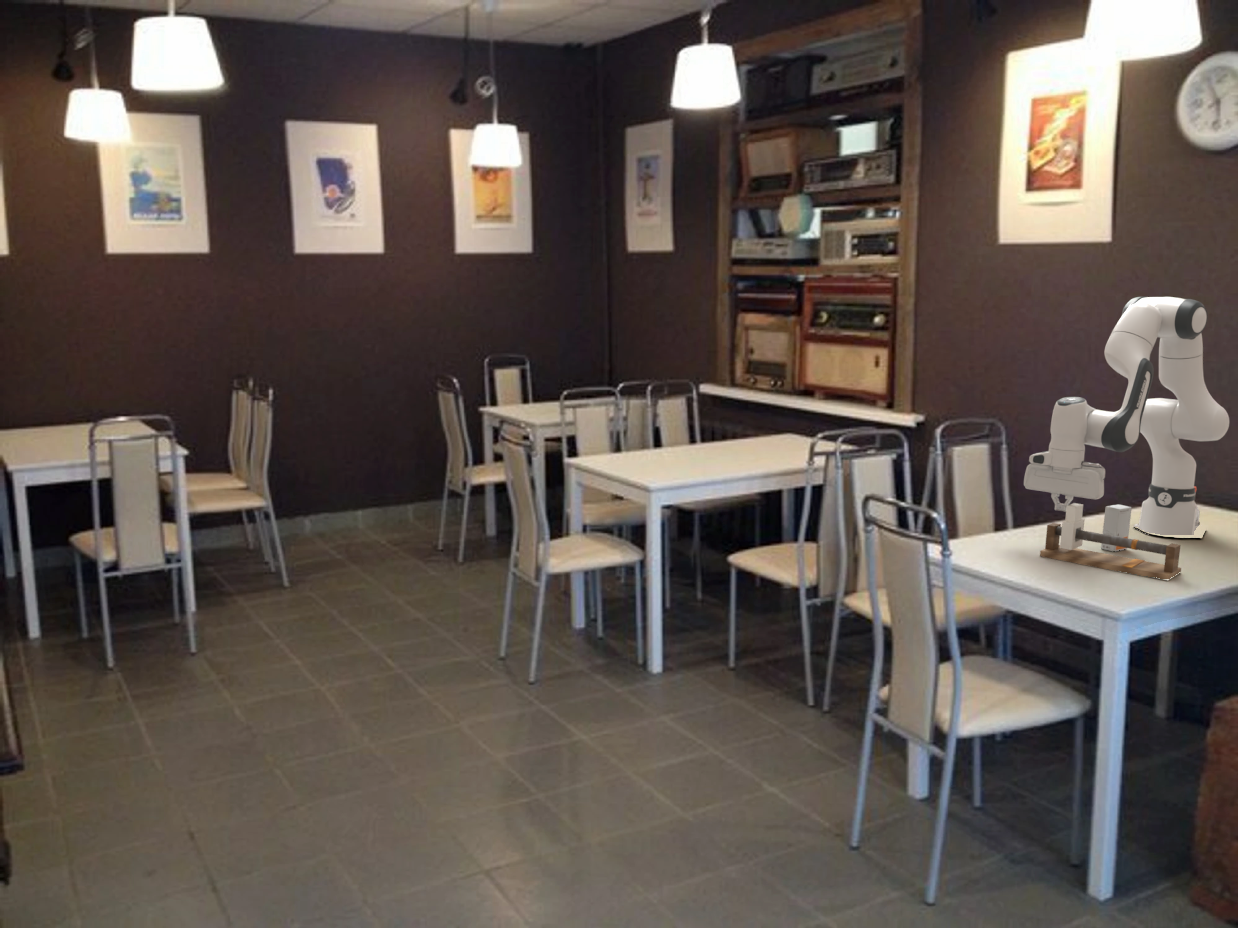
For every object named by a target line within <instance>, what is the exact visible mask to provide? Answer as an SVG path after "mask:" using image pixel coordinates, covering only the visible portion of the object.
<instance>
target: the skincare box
mask: <svg viewBox="0 0 1238 928" xmlns="http://www.w3.org/2000/svg"><path fill="white" fill-rule="evenodd" d="M1104 509H1105V510H1104V518H1103V526H1102V528H1103V529H1102V534H1105V535H1111V536H1117V537H1122V538H1128V539H1129V534H1130V525H1131V519H1132V518H1131V516H1132V506H1128V505H1123V504H1112V505H1107V506H1105V508H1104ZM1100 549H1101V550H1105V551H1109V552H1113V551H1115V552H1120V551H1125V550H1124V549H1126V550H1127V549H1128V548H1125V547H1119V546H1114V545H1108V544H1103V543H1100ZM1119 550H1120V551H1119Z"/></svg>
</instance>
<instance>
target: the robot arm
mask: <svg viewBox="0 0 1238 928" xmlns="http://www.w3.org/2000/svg"><path fill="white" fill-rule="evenodd" d="M1207 323H1208V311H1207V308H1206V307H1205V305H1204V304H1203V303H1202V302H1201V301H1198V300H1195V299H1191V298H1181V297H1173V296H1149V297H1148V296H1144V295H1143V296H1137V297H1133V298H1131V299H1130V300H1129V301H1128V302H1127V303H1126V304H1125V305H1124V306H1123V308H1122V312H1121V316H1120V318H1119V320H1118V321H1117V323H1116V324H1115V326H1114V328H1113V329H1112V330H1111V333H1110V335H1109V338H1108V339H1107V341H1106V344H1105V347H1104V358H1105V360H1106V363H1107V364H1108V366H1110V367H1111V368H1112V369H1113V370H1114V371H1115V372H1116V373H1117V374H1120V376H1123V377H1124V378H1126V379H1127V380H1128V382H1127V383H1128V384H1127V387H1126V391H1125V395H1124V397H1123V401H1122V405H1121V407H1120V409H1119V410H1116V411H1110V410H1109V411H1108V410H1101V409H1098V408H1097V409H1096V408H1095V407H1092V406H1090V405H1089V404H1088V402H1087V400H1086V399H1085V398H1084V397H1079V396H1066V397H1062V398H1060V399H1058V400H1057V401H1056V402H1055V404H1054V406H1053V410H1052V416H1051V422H1050V429H1049V430H1050V434H1051V435H1050V442H1049V445H1048V450H1045V451H1044V450H1043V451H1042V452H1036V453H1033V454H1031V455H1029V459H1028V462H1029V464H1028V465H1027V466H1026V469H1025V471H1024V472H1025V473H1024V477H1023V486H1024V487H1025V489H1026V490H1032V491H1038V492H1039V491H1040V492H1044V493H1045V492H1046V493H1050V494H1051V495H1050V497H1051V499H1052V501H1053V503H1054V511H1059V512H1064V513H1066V508H1067V506H1068V505H1070V504H1071V503H1072V501H1073V500H1074V497H1076V498H1084V499H1089V500H1090V499H1091V500H1099V499H1101V498H1102V497H1103V496H1104V494H1105V478H1106V469H1105V467H1104V466H1102V464H1100V463H1097V462H1095V463H1094V462H1089V461H1085V453H1086V446H1085V445H1087V446H1091V447H1097V448H1103V449H1106V450H1110V451H1113V452H1118V453H1124V452H1126V451H1128V450H1130V449H1131V448H1133V447H1134V446H1135V445H1136V444H1137V442H1138V440H1139V438H1140V434H1142V436H1143V437H1144V438H1145V439H1146V441H1147V443H1148V445H1149V448H1150V450H1151V454H1152V455H1151V456H1152V475H1151V483H1150V484H1149V487H1148V498H1147V499H1145V500H1143V501H1142V503H1141V509H1140V516H1139V521H1138V523H1134V524H1133V526H1134V527H1138V528H1139V529H1141V530H1144V531H1145V532H1149V533H1155V534H1160V535H1194V531H1195V530H1196V528H1197V527H1198V526H1199V525H1200V512H1201V511H1200V509H1199V507H1198V505H1197V504H1196V501H1195V500H1196V495H1197V494H1196V493H1197V490H1198V489H1197V486H1195V481H1196V471H1197V462H1196V460H1195V458H1194V457H1193V455H1191V454H1190V453H1188V452H1187V451H1185V450H1184V448H1182V446H1181V443H1180V440H1188V441H1195V442H1215V441H1219V440H1221V439H1222V438H1223V437H1224V436H1225V435H1226V434H1227V432H1228V430H1229V427H1230V417H1229V414H1228V412H1227V410H1226V409H1225V408H1224V406H1221V404H1219V403H1218V402H1217V401H1216V400H1215V399H1214V398H1213V397H1212V395H1211V394H1210V392H1209V390H1208V388H1207V385H1206V382H1205V377H1204V364H1203V363H1204V361H1203V360H1204V358H1203V357H1204V353H1203V352H1204V347H1203V346H1204V345H1203V343H1204V342H1203V335H1202V333H1203V331H1204V330H1205V328H1206V326H1207ZM1157 339H1159V346H1158V379H1159V381H1160V382H1159V383H1160V384H1161V385H1162V386H1163V387H1164V388H1166V389H1167V390H1169V391H1170V392H1172V393H1173V394H1174V396H1175V397H1176V399H1172V398H1163V397H1155V398H1149V393H1150V390H1151V386H1152V383H1153V379H1154V372H1155V371H1154V365H1153V363H1152V361H1150V360H1151V354H1152V351H1153V348H1154V346H1155V344H1156V342H1157ZM1060 495H1063V496H1065V497H1064V498H1065V502H1064V503H1063V502H1062V503H1061V502H1060V499H1059V497H1061V496H1060Z"/></svg>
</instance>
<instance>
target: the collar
mask: <svg viewBox="0 0 1238 928" xmlns="http://www.w3.org/2000/svg"><path fill="white" fill-rule="evenodd" d="M1083 510H1084V504H1081V503H1076V502H1073V503H1070V504H1069V505H1068V506H1067V508H1066V512H1065V520H1062V524H1061V527H1062V532H1061V536H1060V541H1059V545H1060V548H1063V549H1069V550H1073V549H1075V548H1078V547H1081V546H1082V545H1083V541H1084V540H1081V539H1075V534H1076V529H1077V530H1082V531H1085V530H1084V528H1085V518H1083V514H1084V513H1083Z"/></svg>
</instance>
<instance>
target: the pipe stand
mask: <svg viewBox="0 0 1238 928" xmlns="http://www.w3.org/2000/svg"><path fill="white" fill-rule="evenodd" d="M1061 532H1062V524H1061V523H1058V522H1052V523H1049V524H1047V525H1046V535H1045V536H1046V537H1045V546H1044V547H1045V548H1043V549H1041V550H1040V552H1039V554H1040V555H1039V557H1041V556H1042V557H1043V558H1048V559H1052V560H1058V561H1062V562H1067V563H1072V564H1073V563H1074V564H1079V565H1083V566H1084V565H1085V566H1088V567H1094V568H1099V569H1104V570H1108V569H1109V571H1113V570H1114V571H1113V572H1118V571H1121V572H1120V573H1123V572H1127V573H1126V574H1129V573H1131V574H1130V575H1134V574H1137V575H1136V576H1139V575H1141V576H1140V577H1144V576H1148V577H1147V578H1149V577H1155V578H1156V577H1157V578H1160V579H1170V578H1171V577H1173V576H1175V575H1176V574H1178V573H1179V572H1181V573H1182V567H1180V566H1179V560H1180V550H1181V544H1178V543H1170V544H1168V545H1166V544H1163V543H1162V544H1161V543H1156V542H1150V541H1146V540H1145V541H1144V540H1139V539H1137V538H1135V539H1134V538H1132V539H1131V538H1129V537H1128V538H1122V537H1117V536H1111V535H1105V534H1103V533H1100V532H1093V531H1087V530H1083V531H1082V530H1077V529H1076V534H1075V539H1081V540H1083V541H1087V542H1092V543H1098V544H1101V543H1103V544H1108V545H1114V546H1119V547H1125V548H1127V549H1131V550H1133V551H1134V550H1135V551H1143V552H1147V553H1153V554H1159V555H1164V557H1165V559H1164V564H1163V563H1157V562H1151V561H1146V560H1144V559H1140V558H1130V557H1125V556H1124V557H1123V556H1119V555H1116V554H1115V555H1114V554H1108V553H1104V552H1098V551H1094V550H1092V551H1091V550H1087V549H1083V548H1078V547H1077V548H1075V549H1073V550H1069V549H1063V548H1060V539H1061Z"/></svg>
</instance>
